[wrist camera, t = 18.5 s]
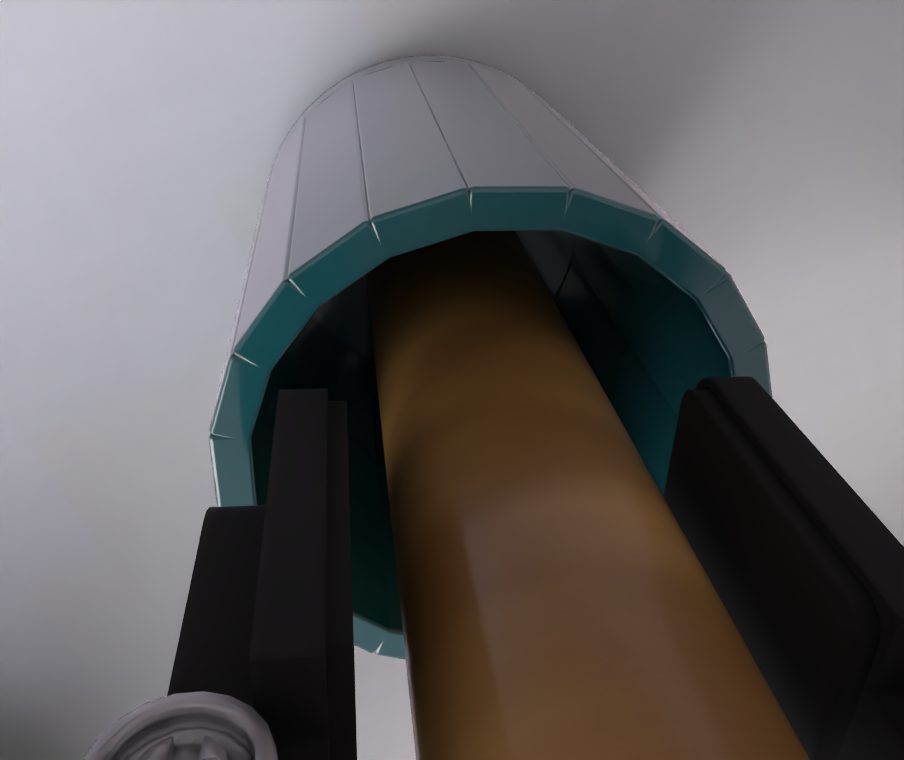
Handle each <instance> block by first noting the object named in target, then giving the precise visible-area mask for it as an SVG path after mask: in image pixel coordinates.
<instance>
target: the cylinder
mask: <svg viewBox="0 0 904 760" xmlns="http://www.w3.org/2000/svg"><path fill="white" fill-rule="evenodd" d="M366 283H367V293H368V303H369V312H370V322H371V331H372V341H373V350H374V360H375V370H376V379H377V389H378V398H379V408H380V417H381V427H382V437H383V446H384V456H385V465H386V475H387V484H388V494H389V504H390V513H391V523H392V532H393V542H394V551H395V561H396V571H397V580H398V590H399V599H400V609H401V618H402V628H403V638H404V647H405V657H406V666H407V676H408V685H409V695H410V705H411V714H412V724H413V733H414V743H415V752H416V760H810V758H809V756H808V755H807V753H806V751H805V749H804V748H803V746H802V744H801V742H800V740H799V739H798V737H797V735H796V733H795V731H794V730H793V728H792V726H791V724H790V722H789V721H788V719H787V717H786V715H785V714H784V712H783V710H782V708H781V706H780V705H779V703H778V701H777V699H776V697H775V696H774V694H773V692H772V690H771V688H770V687H769V685H768V683H767V681H766V680H765V678H764V676H763V674H762V672H761V671H760V669H759V667H758V665H757V663H756V662H755V660H754V658H753V656H752V655H751V653H750V651H749V649H748V647H747V646H746V644H745V642H744V640H743V638H742V637H741V635H740V633H739V631H738V629H737V628H736V626H735V624H734V622H733V621H732V619H731V617H730V615H729V613H728V612H727V610H726V608H725V606H724V604H723V603H722V601H721V599H720V597H719V595H718V594H717V592H716V590H715V588H714V587H713V585H712V583H711V581H710V579H709V578H708V576H707V574H706V572H705V570H704V569H703V567H702V565H701V563H700V561H699V560H698V558H697V556H696V554H695V553H694V551H693V549H692V547H691V545H690V544H689V542H688V540H687V538H686V536H685V535H684V533H683V531H682V529H681V528H680V526H679V524H678V522H677V520H676V519H675V517H674V515H673V513H672V511H671V510H670V508H669V506H668V504H667V502H666V501H665V499H664V497H663V495H662V494H661V492H660V490H659V488H658V486H657V485H656V483H655V481H654V479H653V477H652V476H651V474H650V472H649V470H648V468H647V467H646V465H645V463H644V461H643V460H642V458H641V456H640V454H639V452H638V451H637V449H636V447H635V445H634V443H633V442H632V440H631V438H630V436H629V435H628V433H627V431H626V429H625V427H624V426H623V424H622V422H621V420H620V418H619V417H618V415H617V413H616V411H615V409H614V408H613V406H612V404H611V402H610V401H609V399H608V397H607V395H606V393H605V392H604V390H603V388H602V386H601V384H600V383H599V381H598V379H597V377H596V375H595V374H594V372H593V370H592V368H591V367H590V365H589V363H588V361H587V359H586V358H585V356H584V354H583V352H582V350H581V349H580V347H579V345H578V343H577V341H576V340H575V338H574V336H573V334H572V333H571V331H570V329H569V327H568V325H567V324H566V322H565V320H564V318H563V316H562V315H561V313H560V311H559V309H558V308H557V306H556V304H555V302H554V300H553V299H552V297H551V295H550V293H549V291H548V290H547V288H546V286H545V284H544V282H543V281H542V279H541V277H540V275H539V274H538V272H537V270H536V268H535V266H534V265H533V263H532V261H531V259H530V257H529V256H528V254H527V252H526V250H525V248H524V247H523V245H522V243H521V241H520V240H519V238H518V236H517V234H516V232H515V231H473V232H470V233H467V234H464V235H460V236H457V237H454V238H451V239H448V240H445V241H441V242H438V243H435V244H432V245H429V246H426V247H423V248H419V249H416V250H413V251H410V252H407V253H404V254H401V255H397V256H394V257H391V258H389V259H387V260H386V261H384V262H383V263H382V264H380V265H379V266H377V267H376V268H374V269H373V270H372V271H370V272H369V273H367V274H366Z"/></svg>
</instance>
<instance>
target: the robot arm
mask: <svg viewBox="0 0 904 760" xmlns="http://www.w3.org/2000/svg"><path fill="white" fill-rule="evenodd" d="M663 497H664V499H665V501H666V502H667V504H668V506H669V508H670V510H671V511H672V513H673V515H674V517H675V519H676V520H677V522H678V524H679V526H680V528H681V529H682V531H683V533H684V535H685V536H686V538H687V540H688V542H689V544H690V545H691V547H692V549H693V551H694V553H695V554H696V556H697V558H698V560H699V561H700V563H701V565H702V567H703V569H704V570H705V572H706V574H707V576H708V578H709V579H710V581H711V583H712V585H713V587H714V588H715V590H716V592H717V594H718V595H719V597H720V599H721V601H722V603H723V604H724V606H725V608H726V610H727V612H728V613H729V615H730V617H731V619H732V621H733V622H734V624H735V626H736V628H737V629H738V631H739V633H740V635H741V637H742V638H743V640H744V642H745V644H746V646H747V647H748V649H749V651H750V653H751V655H752V656H753V658H754V660H755V662H756V663H757V665H758V667H759V669H760V671H761V672H762V674H763V676H764V678H765V680H766V681H767V683H768V685H769V687H770V688H771V690H772V692H773V694H774V696H775V697H776V699H777V701H778V703H779V705H780V706H781V708H782V710H783V712H784V714H785V715H786V717H787V719H788V721H789V722H790V724H791V726H792V728H793V730H794V731H795V733H796V735H797V737H798V739H799V740H800V742H801V744H802V746H803V748H804V749H805V751H806V753H807V755H808V756H809V758H810V760H904V547H903V546H902V545H901V543H900V542H899V541H898V540H897V539H896V538H895V537H894V536H893V534H892V533H891V532H890V531H889V530H888V529H887V528H886V526H885V525H884V524H883V523H882V522H881V521H880V520H879V519H878V517H877V516H876V515H875V514H874V513H873V512H872V511H871V510H870V508H869V507H868V506H867V505H866V504H865V503H864V502H863V500H862V499H861V498H860V497H859V496H858V495H857V494H856V493H855V491H854V490H853V489H852V488H851V487H850V486H849V485H848V483H847V482H846V481H845V480H844V479H843V478H842V477H841V476H840V474H839V473H838V472H837V471H836V470H835V469H834V468H833V466H832V465H831V464H830V463H829V462H828V461H827V460H826V459H825V457H824V456H823V455H822V454H821V453H820V452H819V451H818V450H817V448H816V447H815V446H814V445H813V444H812V443H811V442H810V440H809V439H808V438H807V437H806V436H805V435H804V434H803V433H802V431H801V430H800V429H799V428H798V427H797V426H796V425H795V423H794V422H793V421H792V420H791V419H790V418H789V417H788V416H787V414H786V413H785V412H784V411H783V410H782V409H781V408H780V406H779V405H778V404H777V403H776V402H775V401H774V400H773V399H772V397H771V396H770V395H769V394H768V393H767V392H766V391H765V390H764V388H763V387H762V386H761V385H760V384H759V383H758V382H757V380H755V379H754V378H753V377H747V376H745V377H710V378H703V379H702V380H700V381H699V383H698V385H697V387H696V390H687V391H686V392H685V393H684V395H683V397H682V400H681V404H680V410H679V415H678V420H677V426H676V431H675V437H674V442H673V447H672V453H671V458H670V463H669V469H668V474H667V479H666V485H665V490H664V496H663ZM84 760H357V743H356V707H355V670H354V635H353V600H352V565H351V531H350V496H349V461H348V427H347V400H343V401H328V389H327V388H325V389H290V390H279V392H278V400H277V409H276V418H275V427H274V436H273V445H272V454H271V464H270V473H269V482H268V491H267V500H266V505H253V506H230V507H209V509H208V510H207V511H206V514H205V518H204V521H203V526H202V531H201V536H200V541H199V546H198V550H197V555H196V560H195V565H194V570H193V574H192V579H191V584H190V589H189V594H188V599H187V603H186V608H185V613H184V618H183V623H182V627H181V632H180V637H179V642H178V647H177V652H176V656H175V661H174V666H173V671H172V676H171V681H170V685H169V690H168V695H167V696H166V697H163V698H160V699H157V700H154V701H151V702H148V703H145V704H144V705H142V706H140V707H138V708H137V709H135V710H133V711H132V712H130V713H128V714H126V715H125V716H123V717H121V718H120V719H118V720H117V721H116V722H115V723H114V724H113V725H112V726H111V727H110V728H109V729H108V730H107V731H105V732H104V733H103V734H102V735H101V736H100V737H99V738H98V739H97V740H96V741H95V743H94V745H93V746H92V748H91V749H90V751H89V752H88V754H87V756H86V757H85V759H84Z"/></svg>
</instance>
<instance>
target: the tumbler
mask: <svg viewBox="0 0 904 760" xmlns="http://www.w3.org/2000/svg"><path fill="white" fill-rule="evenodd" d="M473 231H515V232H516V234H517V236H518V238H519V240H520V241H521V243H522V245H523V247H524V248H525V250H526V252H527V254H528V256H529V257H530V259H531V261H532V263H533V265H534V266H535V268H536V270H537V272H538V274H539V275H540V277H541V279H542V281H543V282H544V284H545V286H546V288H547V290H548V291H549V293H550V295H551V297H552V299H553V300H554V302H555V304H556V306H557V308H558V309H559V311H560V313H561V315H562V316H563V318H564V320H565V322H566V324H567V325H568V327H569V329H570V331H571V333H572V334H573V336H574V338H575V340H576V341H577V343H578V345H579V347H580V349H581V350H582V352H583V354H584V356H585V358H586V359H587V361H588V363H589V365H590V367H591V368H592V370H593V372H594V374H595V375H596V377H597V379H598V381H599V383H600V384H601V386H602V388H603V390H604V392H605V393H606V395H607V397H608V399H609V401H610V402H611V404H612V406H613V408H614V409H615V411H616V413H617V415H618V417H619V418H620V420H621V422H622V424H623V426H624V427H625V429H626V431H627V433H628V435H629V436H630V438H631V440H632V442H633V443H634V445H635V447H636V449H637V451H638V452H639V454H640V456H641V458H642V460H643V461H644V463H645V465H646V467H647V468H648V470H649V472H650V474H651V476H652V477H653V479H654V481H655V483H656V485H657V486H658V488H659V490H660V492H661V494H662V495H663V496H664V490H665V485H666V479H667V474H668V469H669V463H670V458H671V453H672V447H673V442H674V437H675V431H676V426H677V420H678V415H679V410H680V404H681V400H682V397H683V395H684V393H685V392H686V391H687V390H696V387H697V385H698V383H699V381H700V380H702V379H703V378H710V377H745V376H747V377H753V378H754V379H755V380H757V382H758V383H759V384H760V385H761V386H762V387H763V388H764V390H765V391H766V392H767V393H768V394H769V395H770V396H771V397H772V391H771V382H770V373H769V364H768V355H767V346H766V343H765V342H764V336H763V334H762V332H761V330H760V328H759V327H758V325H757V323H756V321H755V319H754V317H753V316H752V314H751V312H750V310H749V308H748V306H747V304H746V303H745V301H744V299H743V297H742V295H741V293H740V292H739V290H738V288H737V286H736V284H735V282H734V281H733V279H732V277H731V275H730V274H729V273H728V272H727V271H726V270H725V268H724V267H723V266H722V265H721V264H720V263H719V262H718V261H717V260H716V259H715V258H713V257H712V256H711V255H710V254H709V253H708V252H707V251H706V250H705V249H704V248H703V247H702V246H701V245H700V244H698V243H697V242H696V241H695V240H694V239H693V238H692V237H691V236H690V235H689V234H688V233H687V232H686V231H685V230H684V229H682V228H681V227H680V226H679V225H678V224H677V223H676V222H675V221H674V220H673V219H672V218H671V217H670V216H669V215H667V214H666V213H665V212H664V211H663V210H662V209H661V208H660V207H659V206H658V205H657V204H656V203H655V202H654V201H653V200H651V199H650V198H649V197H648V196H647V195H646V194H645V193H644V192H643V191H642V190H641V189H640V188H639V187H638V186H636V185H635V184H634V183H633V182H632V181H631V180H630V179H629V178H628V177H627V176H626V175H625V174H624V173H623V172H622V171H620V170H619V169H618V168H617V167H616V166H615V165H614V164H613V163H612V162H611V161H610V160H609V159H608V158H607V157H606V156H604V155H603V154H602V153H601V152H600V151H599V150H598V149H597V148H596V147H595V146H594V145H593V144H592V143H591V142H589V141H588V140H587V139H586V138H585V137H584V136H583V135H582V134H581V133H580V132H579V131H578V130H577V129H576V128H575V127H573V126H572V125H571V124H570V123H569V122H568V121H567V120H566V119H565V118H564V117H563V116H562V115H560V114H559V113H558V112H557V111H556V110H554V109H553V108H552V107H551V106H550V105H548V104H547V103H546V102H545V101H544V100H543V99H542V98H541V97H540V96H539V95H537V94H536V93H535V92H533V91H532V90H531V89H530V88H528V87H527V86H526V85H524V84H523V83H522V82H520V81H518V80H517V79H515V78H513V77H511V76H509V75H508V74H506V73H504V72H502V71H500V70H498V69H495V68H493V67H490V66H487V65H485V64H482V63H480V62H475V61H471V60H467V59H462V58H458V57H448V56H437V55H429V56H410V57H405V58H400V59H395V60H389V61H386V62H383V63H380V64H377V65H374V66H371V67H368V68H365V69H363V70H361V71H359V72H357V73H355V74H353V75H351V76H349V77H347V78H345V79H343V80H342V81H340V82H339V83H337V84H336V85H335V86H333V87H332V88H330V89H329V90H327V91H326V92H324V93H323V94H322V95H321V96H320V97H319V98H318V99H317V100H316V101H315V102H314V103H312V104H311V105H310V106H309V107H308V108H307V109H306V110H305V112H304V113H303V114H302V115H301V117H300V118H299V119H298V120H297V121H296V123H295V124H294V125H293V126H292V128H291V130H290V131H289V133H288V134H287V136H286V138H285V139H284V141H283V143H282V144H281V146H280V148H279V151H278V153H277V155H276V158H275V160H274V162H273V164H272V167H271V171H270V174H269V178H268V182H267V185H266V189H265V193H264V197H263V201H262V204H261V208H260V212H259V216H258V221H257V225H256V229H255V234H254V238H253V242H252V247H251V251H250V255H249V260H248V264H247V268H246V273H245V277H244V281H243V286H242V290H241V294H240V299H239V303H238V307H237V312H236V316H235V320H234V325H233V329H232V333H231V338H230V342H229V346H228V351H227V355H226V359H225V364H224V368H223V372H222V377H221V381H220V385H219V390H218V394H217V398H216V403H215V407H214V411H213V416H212V420H211V424H210V429H209V430H210V435H209V444H210V453H211V461H212V470H213V478H214V487H215V495H216V503H217V507H230V506H253V505H266V500H267V491H268V482H269V473H270V464H271V454H272V445H273V436H274V427H275V418H276V409H277V400H278V392H279V390H290V389H325V388H327V389H328V401H343V400H347V427H348V461H349V496H350V531H351V565H352V600H353V635H354V645H355V646H357V647H359V648H361V649H363V650H366V651H368V652H370V653H374V652H375V653H376V654H377V655H382V656H388V657H394V658H400V659H406V657H405V647H404V638H403V628H402V618H401V609H400V599H399V590H398V580H397V571H396V561H395V551H394V542H393V532H392V523H391V513H390V504H389V494H388V484H387V475H386V465H385V456H384V446H383V437H382V427H381V417H380V408H379V398H378V389H377V379H376V370H375V360H374V350H373V341H372V331H371V322H370V312H369V303H368V293H367V283H366V274H367V273H369V272H370V271H372V270H373V269H374V268H376V267H377V266H379V265H380V264H382V263H383V262H384V261H386V260H387V259H389V258H391V257H394V256H397V255H401V254H404V253H407V252H410V251H413V250H416V249H419V248H423V247H426V246H429V245H432V244H435V243H438V242H441V241H445V240H448V239H451V238H454V237H457V236H460V235H464V234H467V233H470V232H473Z"/></svg>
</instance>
